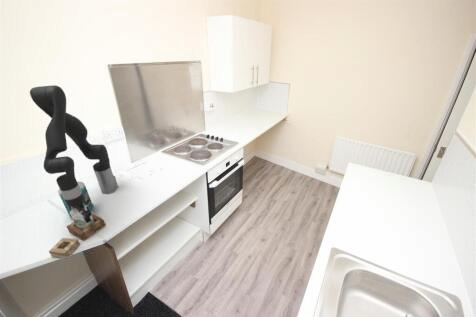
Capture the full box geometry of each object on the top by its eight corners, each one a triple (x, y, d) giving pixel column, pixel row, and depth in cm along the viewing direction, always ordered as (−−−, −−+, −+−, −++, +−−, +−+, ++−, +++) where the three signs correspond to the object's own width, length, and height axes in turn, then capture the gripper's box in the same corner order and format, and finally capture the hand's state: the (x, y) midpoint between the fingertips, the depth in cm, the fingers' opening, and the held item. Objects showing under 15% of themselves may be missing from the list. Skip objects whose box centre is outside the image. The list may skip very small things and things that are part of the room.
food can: (66, 213, 125) (54, 188, 117) (88, 203, 134) (79, 178, 125) (75, 223, 119) (62, 197, 111) (98, 211, 128) (88, 186, 119)
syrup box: (96, 225, 118) (88, 204, 111) (89, 233, 113) (80, 212, 106) (86, 224, 118) (77, 204, 111) (78, 233, 113) (68, 212, 106)
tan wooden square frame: (65, 242, 108) (62, 237, 106) (80, 244, 107) (77, 239, 105) (51, 256, 101) (48, 251, 99) (67, 258, 100) (64, 253, 98)
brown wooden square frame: (91, 218, 123) (89, 212, 120) (105, 225, 118) (103, 219, 116) (69, 232, 113) (66, 226, 111) (83, 241, 109) (80, 234, 106)
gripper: (89, 194, 105) (99, 218, 112) (71, 186, 110) (82, 210, 118) (73, 203, 99) (84, 228, 107) (55, 194, 104) (67, 219, 112)
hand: (83, 219), depth 112 cm, fingers open, 8 cm apart
